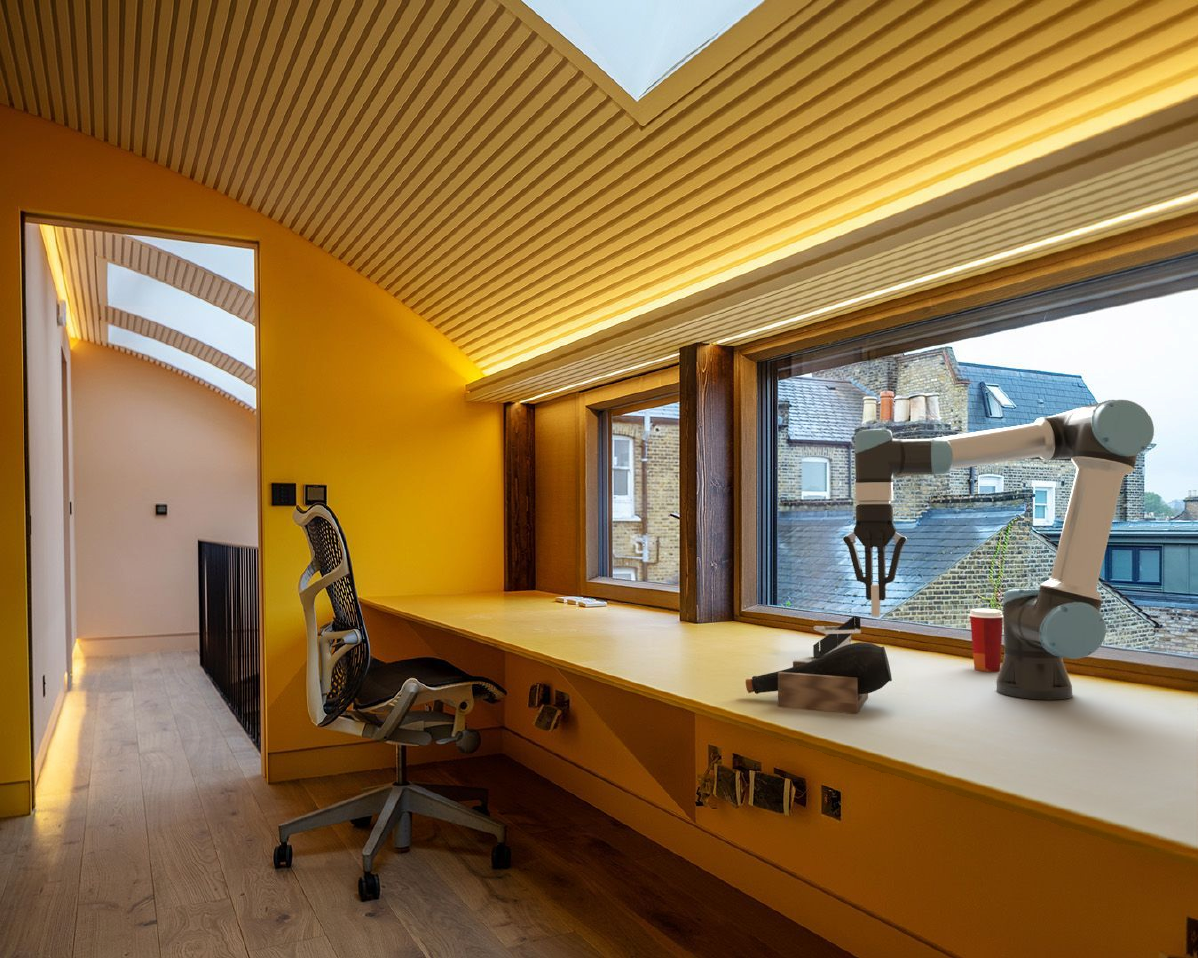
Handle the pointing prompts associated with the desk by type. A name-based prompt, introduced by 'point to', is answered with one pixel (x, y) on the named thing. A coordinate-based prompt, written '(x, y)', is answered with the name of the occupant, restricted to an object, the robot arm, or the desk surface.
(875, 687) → the bottle
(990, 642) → the coffee cup
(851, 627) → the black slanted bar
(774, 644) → the desk surface
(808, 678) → the cradle
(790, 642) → the desk surface
